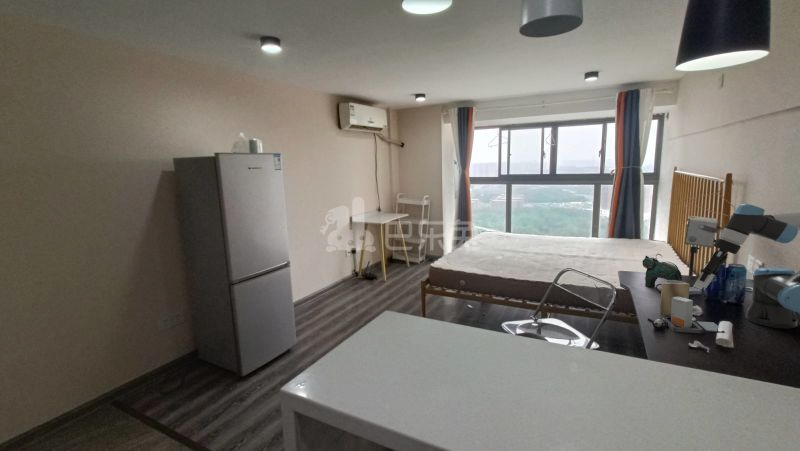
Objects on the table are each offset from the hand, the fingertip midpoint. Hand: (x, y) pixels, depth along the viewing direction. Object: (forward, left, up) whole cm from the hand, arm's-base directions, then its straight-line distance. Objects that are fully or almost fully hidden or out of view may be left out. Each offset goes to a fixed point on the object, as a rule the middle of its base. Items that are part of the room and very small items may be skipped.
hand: (699, 287), depth 145 cm
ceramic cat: (-4, -53, -18) cm, 56 cm away
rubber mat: (-5, -2, -18) cm, 19 cm away
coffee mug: (-2, -34, -18) cm, 38 cm away
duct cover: (+5, -10, -9) cm, 14 cm away
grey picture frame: (+5, -3, -18) cm, 19 cm away
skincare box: (+5, -2, -18) cm, 19 cm away
